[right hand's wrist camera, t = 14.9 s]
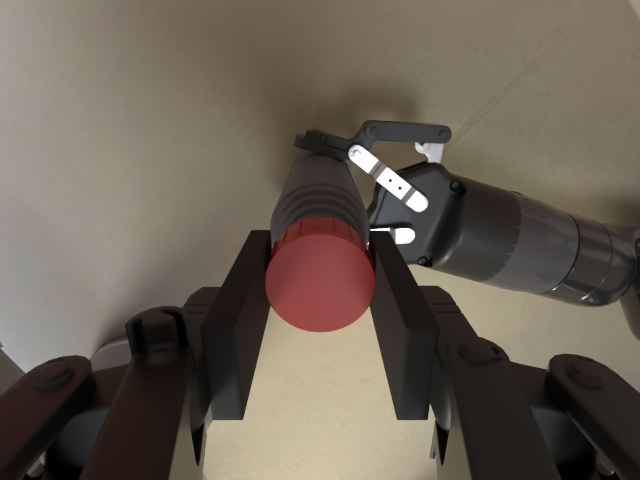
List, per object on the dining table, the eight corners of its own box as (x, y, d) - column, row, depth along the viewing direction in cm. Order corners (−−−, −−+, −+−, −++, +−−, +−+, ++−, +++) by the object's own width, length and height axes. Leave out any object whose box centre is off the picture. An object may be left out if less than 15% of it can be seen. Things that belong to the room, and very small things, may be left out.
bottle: (357, 175, 34) (415, 288, 13) (316, 208, 35) (310, 357, 14) (324, 132, 32) (331, 183, 12) (282, 167, 33) (222, 269, 13)
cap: (306, 194, 13) (304, 208, 12) (390, 251, 14) (401, 272, 13) (251, 274, 15) (241, 297, 13) (331, 322, 15) (333, 350, 14)
